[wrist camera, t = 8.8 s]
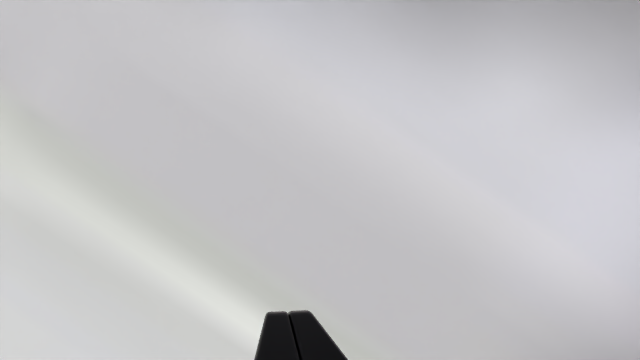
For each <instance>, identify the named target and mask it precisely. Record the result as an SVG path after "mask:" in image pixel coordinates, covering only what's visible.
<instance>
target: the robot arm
mask: <svg viewBox="0 0 640 360" xmlns="http://www.w3.org/2000/svg"><path fill="white" fill-rule="evenodd" d="M254 360H348V359H347V358H346V357H345V355H344V354H343V353H342V351H341V350H340V349H339V348H338V346H337V345H336V344H335V342H334V341H333V340H332V339H331V337H330V336H329V335H328V333H327V332H326V331H325V330H324V328H323V327H322V326H321V324H320V323H319V322H318V320H317V319H316V318H315V317H314V315H313V314H312V313H311V312H310V311H306V310H304V311H290V312H289V313H287V312H284V311H281V312H268V313H267V314H266V316H265V319H264V323H263V327H262V331H261V335H260V339H259V343H258V347H257V351H256V355H255V359H254Z"/></svg>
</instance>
